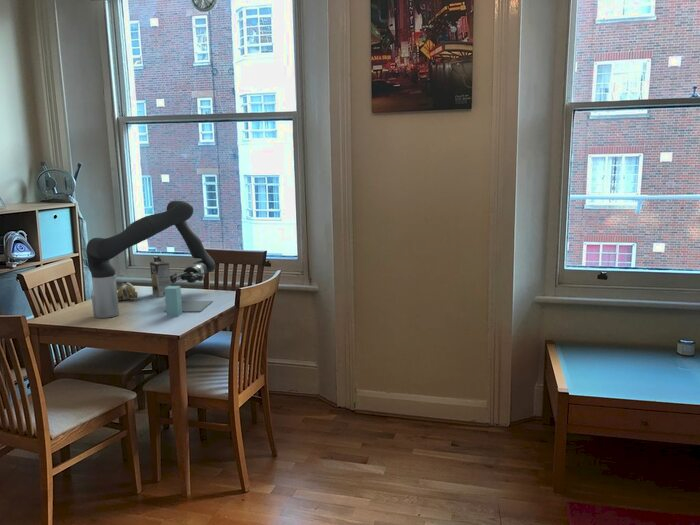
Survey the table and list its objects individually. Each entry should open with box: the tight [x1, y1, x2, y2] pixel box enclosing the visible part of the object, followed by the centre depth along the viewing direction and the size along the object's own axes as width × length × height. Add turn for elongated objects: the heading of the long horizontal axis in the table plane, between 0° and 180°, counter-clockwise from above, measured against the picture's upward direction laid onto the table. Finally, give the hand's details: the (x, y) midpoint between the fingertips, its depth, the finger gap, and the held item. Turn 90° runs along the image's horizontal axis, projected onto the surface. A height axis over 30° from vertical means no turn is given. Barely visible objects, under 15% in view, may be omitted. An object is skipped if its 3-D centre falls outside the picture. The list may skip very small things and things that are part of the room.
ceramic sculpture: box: [117, 281, 139, 301], centre depth 264 cm, size 11×9×15 cm
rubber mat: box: [163, 300, 214, 313], centre depth 246 cm, size 16×18×1 cm
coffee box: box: [149, 260, 172, 298], centre depth 270 cm, size 9×6×16 cm
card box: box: [164, 285, 183, 318], centre depth 233 cm, size 5×5×12 cm
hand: (182, 280), depth 243 cm, fingers open, 8 cm apart
